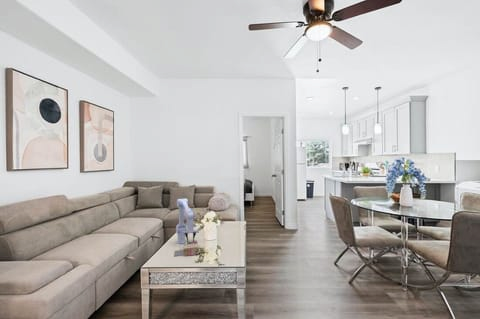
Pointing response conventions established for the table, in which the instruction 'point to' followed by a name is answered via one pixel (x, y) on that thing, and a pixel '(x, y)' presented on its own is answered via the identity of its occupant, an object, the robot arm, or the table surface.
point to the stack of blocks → (190, 248)
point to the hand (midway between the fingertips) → (190, 241)
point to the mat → (180, 253)
